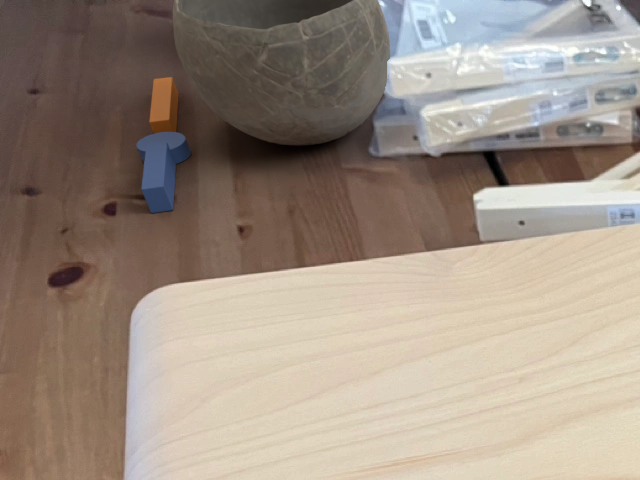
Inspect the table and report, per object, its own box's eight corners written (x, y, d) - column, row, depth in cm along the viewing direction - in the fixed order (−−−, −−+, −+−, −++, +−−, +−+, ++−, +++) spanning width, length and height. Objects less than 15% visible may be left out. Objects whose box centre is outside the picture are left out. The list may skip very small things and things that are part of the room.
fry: (176, 137, 110) (169, 119, 108) (156, 140, 109) (149, 121, 108) (178, 94, 118) (172, 76, 116) (160, 96, 117) (153, 78, 116)
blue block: (188, 208, 99) (179, 184, 97) (135, 215, 98) (125, 191, 96) (191, 143, 109) (182, 120, 107) (143, 149, 108) (134, 126, 106)
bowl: (184, 125, 112) (128, -24, 101) (356, 79, 121) (322, -62, 110) (258, 195, 101) (205, 37, 90) (441, 138, 110) (412, -11, 100)
